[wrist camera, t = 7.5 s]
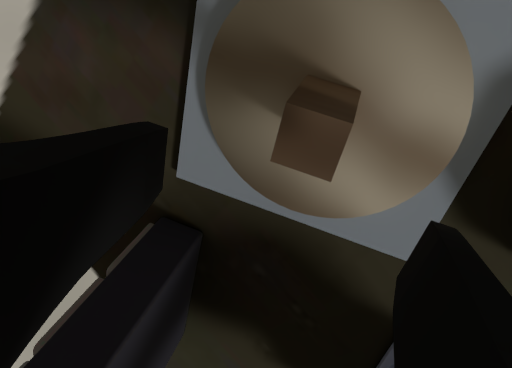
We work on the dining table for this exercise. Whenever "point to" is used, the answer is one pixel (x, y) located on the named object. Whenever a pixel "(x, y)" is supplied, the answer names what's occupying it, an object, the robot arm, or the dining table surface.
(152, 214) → the dining table surface
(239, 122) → the lid
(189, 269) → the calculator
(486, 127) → the mat
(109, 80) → the dining table surface
